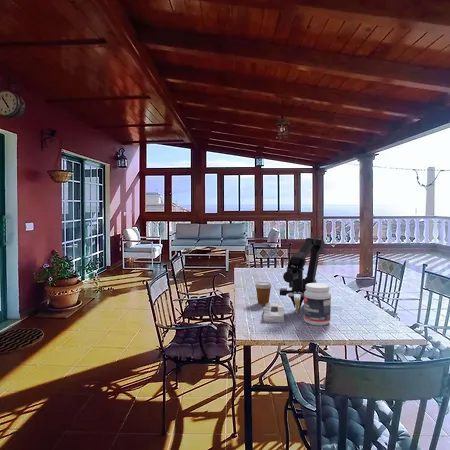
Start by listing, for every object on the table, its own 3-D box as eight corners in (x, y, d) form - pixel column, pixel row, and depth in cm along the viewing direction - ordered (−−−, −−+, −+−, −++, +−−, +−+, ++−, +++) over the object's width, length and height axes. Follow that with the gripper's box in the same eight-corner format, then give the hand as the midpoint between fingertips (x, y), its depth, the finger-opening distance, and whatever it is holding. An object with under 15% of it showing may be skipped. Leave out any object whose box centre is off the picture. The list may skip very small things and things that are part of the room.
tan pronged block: (299, 310, 195) (299, 297, 195) (299, 313, 189) (299, 300, 188) (294, 309, 196) (294, 297, 195) (295, 313, 189) (295, 300, 189)
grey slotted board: (284, 308, 198) (284, 303, 198) (284, 322, 175) (284, 316, 174) (265, 308, 200) (265, 302, 200) (263, 321, 176) (263, 315, 176)
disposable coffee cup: (258, 306, 203) (258, 285, 203) (252, 302, 212) (252, 282, 212) (274, 305, 206) (274, 284, 205) (267, 301, 215) (267, 281, 214)
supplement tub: (298, 322, 175) (298, 285, 174) (312, 316, 184) (312, 281, 183) (321, 328, 166) (322, 289, 165) (335, 322, 175) (336, 285, 174)
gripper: (313, 277, 198) (313, 304, 199) (279, 276, 201) (279, 303, 202) (315, 281, 187) (315, 310, 188) (279, 280, 190) (279, 309, 191)
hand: (297, 308), depth 192 cm, fingers closed on tan pronged block, 2 cm apart
